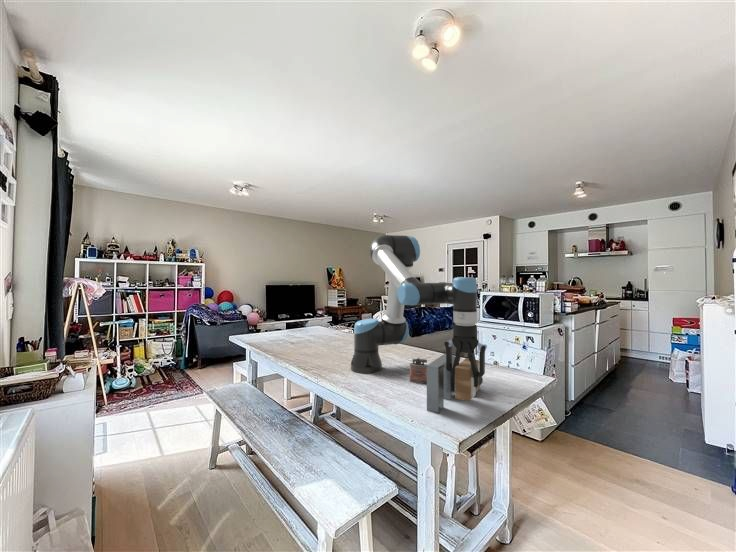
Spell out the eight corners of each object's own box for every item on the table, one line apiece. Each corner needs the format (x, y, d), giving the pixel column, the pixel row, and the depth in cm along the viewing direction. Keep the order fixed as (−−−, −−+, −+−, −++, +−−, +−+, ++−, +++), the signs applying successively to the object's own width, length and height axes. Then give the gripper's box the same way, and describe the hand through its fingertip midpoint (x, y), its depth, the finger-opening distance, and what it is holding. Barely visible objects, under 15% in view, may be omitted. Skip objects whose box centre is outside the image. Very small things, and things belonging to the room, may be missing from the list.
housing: (425, 410, 104) (425, 365, 104) (443, 392, 119) (443, 353, 119) (438, 413, 101) (438, 367, 101) (454, 395, 116) (454, 355, 116)
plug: (465, 386, 112) (465, 352, 112) (478, 388, 109) (478, 354, 109) (455, 398, 101) (455, 361, 101) (469, 401, 98) (469, 363, 98)
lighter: (408, 382, 131) (408, 358, 130) (410, 379, 134) (410, 356, 134) (427, 384, 128) (427, 360, 127) (429, 381, 131) (429, 358, 131)
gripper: (435, 323, 104) (435, 392, 104) (490, 328, 94) (491, 404, 95) (442, 320, 110) (443, 386, 110) (495, 324, 101) (495, 396, 101)
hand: (465, 394), depth 102 cm, fingers closed on plug, 4 cm apart
